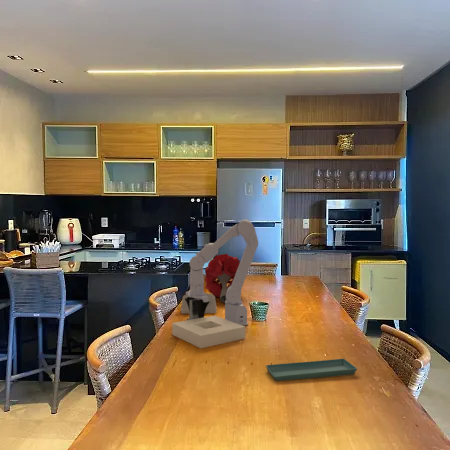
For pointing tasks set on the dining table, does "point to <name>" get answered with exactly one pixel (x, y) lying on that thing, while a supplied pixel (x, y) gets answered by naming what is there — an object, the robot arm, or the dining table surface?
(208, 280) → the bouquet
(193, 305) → the tall grey block
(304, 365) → the rectangular tray
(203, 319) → the well block
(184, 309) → the grey rounded block
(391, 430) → the dining table surface
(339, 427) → the dining table surface
